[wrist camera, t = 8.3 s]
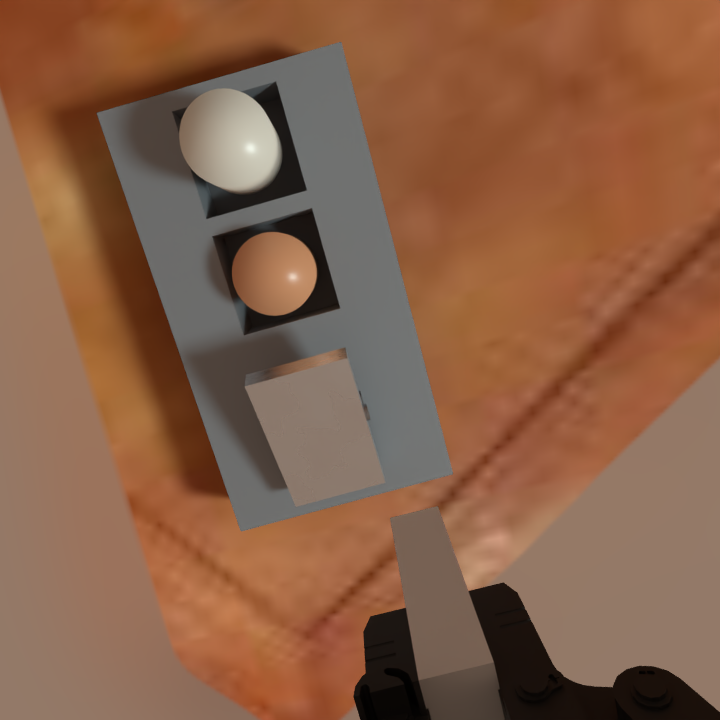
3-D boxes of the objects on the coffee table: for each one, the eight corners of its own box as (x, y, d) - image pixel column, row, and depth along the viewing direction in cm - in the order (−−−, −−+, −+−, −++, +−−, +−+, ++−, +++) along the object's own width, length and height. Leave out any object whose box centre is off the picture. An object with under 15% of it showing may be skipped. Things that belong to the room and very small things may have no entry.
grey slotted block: (126, 129, 36) (86, 107, 30) (341, 67, 36) (340, 33, 30) (251, 500, 41) (237, 540, 36) (441, 449, 41) (456, 481, 35)
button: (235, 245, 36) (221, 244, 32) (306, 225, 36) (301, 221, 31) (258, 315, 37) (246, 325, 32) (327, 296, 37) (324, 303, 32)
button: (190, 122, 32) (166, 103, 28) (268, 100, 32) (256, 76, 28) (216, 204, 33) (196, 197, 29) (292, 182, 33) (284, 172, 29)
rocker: (243, 371, 32) (241, 387, 30) (348, 342, 31) (351, 357, 30) (292, 488, 36) (292, 507, 35) (384, 463, 36) (388, 481, 35)
